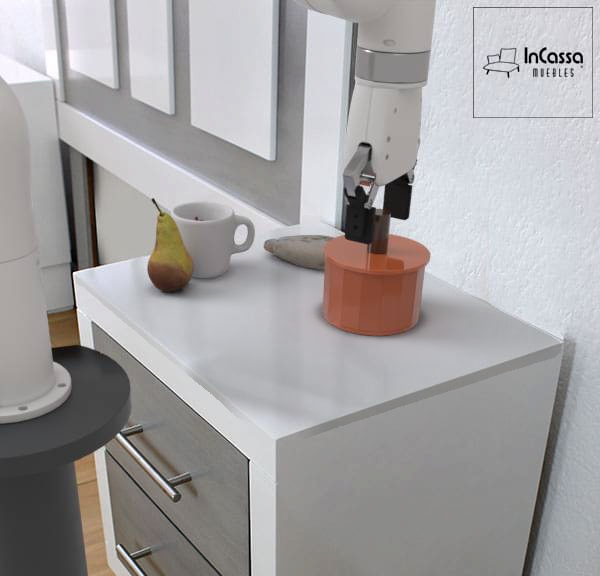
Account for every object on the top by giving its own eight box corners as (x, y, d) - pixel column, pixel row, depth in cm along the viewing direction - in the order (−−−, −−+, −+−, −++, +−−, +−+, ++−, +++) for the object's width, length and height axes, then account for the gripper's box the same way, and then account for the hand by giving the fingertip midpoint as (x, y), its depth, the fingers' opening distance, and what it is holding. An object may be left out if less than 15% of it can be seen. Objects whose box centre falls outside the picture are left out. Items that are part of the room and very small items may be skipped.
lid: (403, 289, 96) (408, 238, 93) (304, 264, 101) (306, 216, 98) (445, 255, 106) (451, 208, 102) (352, 234, 110) (356, 188, 107)
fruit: (199, 295, 110) (197, 198, 104) (153, 300, 108) (147, 201, 102) (189, 278, 114) (185, 184, 108) (144, 282, 113) (138, 187, 106)
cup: (244, 255, 122) (244, 197, 117) (263, 277, 116) (264, 216, 111) (166, 263, 118) (163, 203, 114) (182, 286, 112) (179, 224, 108)
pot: (394, 344, 101) (401, 281, 97) (305, 320, 105) (308, 259, 101) (433, 309, 109) (440, 250, 105) (349, 288, 114) (353, 231, 110)
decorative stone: (270, 247, 125) (271, 223, 123) (379, 263, 121) (381, 239, 119) (255, 263, 120) (256, 238, 118) (368, 279, 116) (370, 254, 114)
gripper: (393, 51, 100) (379, 203, 109) (319, 74, 87) (311, 244, 96) (456, 59, 97) (437, 215, 106) (390, 85, 84) (374, 259, 94)
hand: (377, 229), depth 101 cm, fingers open, 9 cm apart
